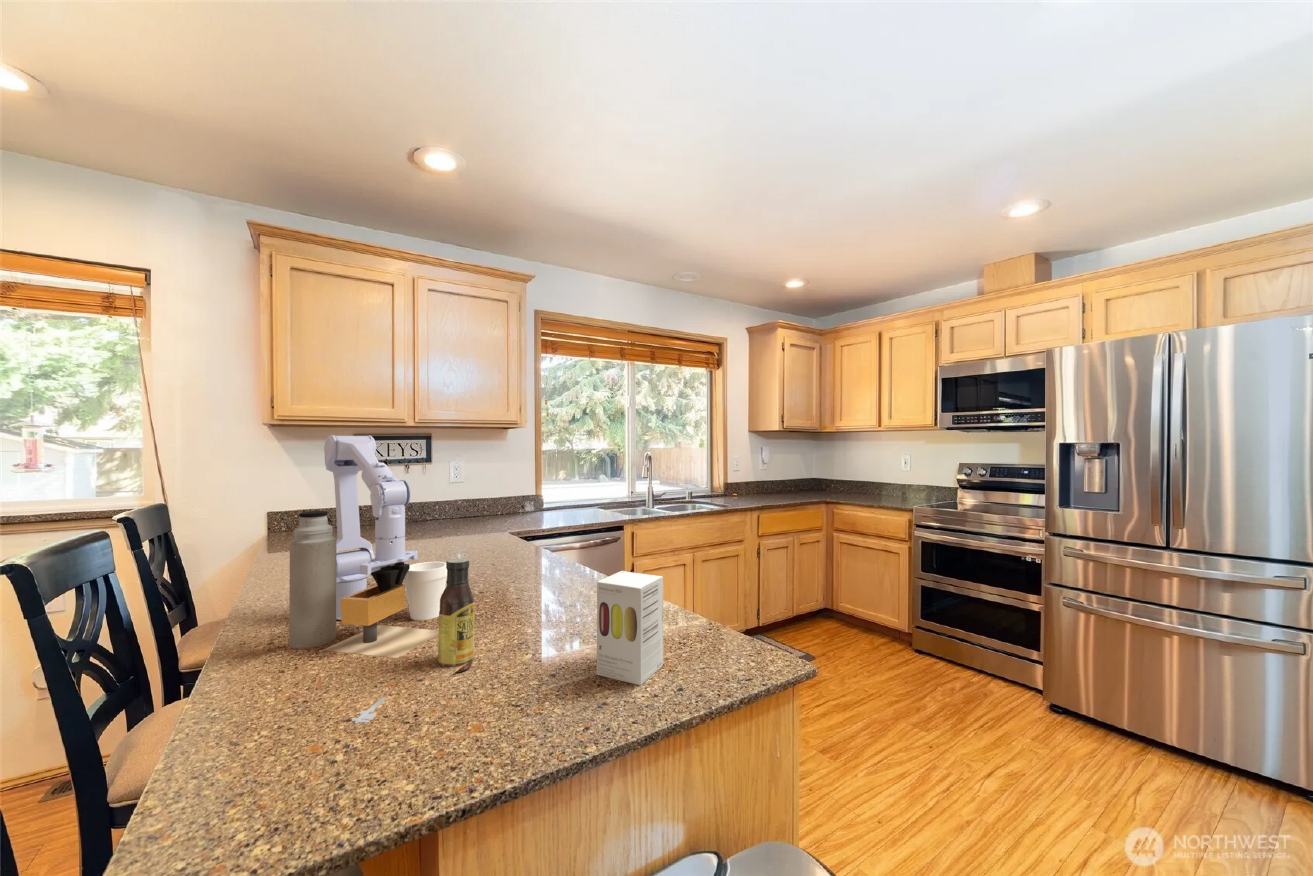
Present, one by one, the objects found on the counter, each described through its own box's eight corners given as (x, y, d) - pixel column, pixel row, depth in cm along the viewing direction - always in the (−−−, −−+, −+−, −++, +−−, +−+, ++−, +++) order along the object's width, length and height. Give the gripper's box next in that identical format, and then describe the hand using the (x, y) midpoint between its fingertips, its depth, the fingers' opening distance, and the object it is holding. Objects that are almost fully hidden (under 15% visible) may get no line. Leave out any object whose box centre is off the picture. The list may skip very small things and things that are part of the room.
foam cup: (456, 619, 120) (456, 564, 120) (420, 631, 112) (420, 573, 112) (431, 612, 125) (431, 560, 125) (395, 623, 117) (395, 567, 117)
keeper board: (322, 657, 98) (322, 619, 98) (377, 631, 112) (377, 598, 112) (396, 666, 94) (396, 625, 94) (444, 638, 108) (444, 603, 108)
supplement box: (594, 675, 90) (594, 581, 90) (620, 656, 98) (620, 569, 98) (642, 686, 86) (641, 587, 86) (664, 665, 94) (664, 575, 94)
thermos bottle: (310, 639, 107) (310, 508, 108) (345, 640, 107) (345, 509, 107) (279, 655, 100) (279, 513, 100) (316, 656, 99) (316, 514, 99)
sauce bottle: (461, 676, 90) (461, 565, 90) (430, 673, 91) (430, 563, 91) (481, 661, 96) (481, 557, 96) (452, 658, 97) (452, 556, 98)
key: (410, 687, 87) (392, 686, 87) (410, 681, 87) (392, 680, 87) (366, 726, 75) (345, 726, 75) (366, 719, 75) (345, 719, 75)
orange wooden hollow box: (380, 606, 109) (379, 583, 109) (405, 608, 108) (404, 585, 108) (341, 623, 100) (340, 598, 100) (368, 625, 98) (367, 600, 98)
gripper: (380, 544, 100) (380, 612, 100) (429, 531, 115) (429, 591, 114) (350, 542, 102) (350, 609, 102) (402, 530, 116) (402, 589, 116)
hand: (390, 600), depth 108 cm, fingers closed on orange wooden hollow box
